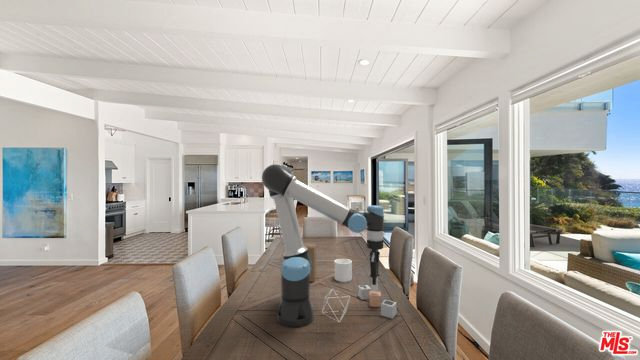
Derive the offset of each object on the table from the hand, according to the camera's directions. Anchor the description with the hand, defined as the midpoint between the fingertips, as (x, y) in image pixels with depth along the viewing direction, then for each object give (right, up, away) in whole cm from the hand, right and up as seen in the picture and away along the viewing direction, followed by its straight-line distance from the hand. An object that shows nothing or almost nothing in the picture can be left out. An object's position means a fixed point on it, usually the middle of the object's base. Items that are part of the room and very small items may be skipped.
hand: (374, 290), depth 127 cm
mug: (-12, -7, +34) cm, 37 cm away
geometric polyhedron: (-18, -6, -10) cm, 22 cm away
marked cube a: (+4, -6, -10) cm, 12 cm away
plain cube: (0, -6, 0) cm, 6 cm away
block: (-33, -7, +32) cm, 46 cm away
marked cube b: (-3, -6, +8) cm, 10 cm away
